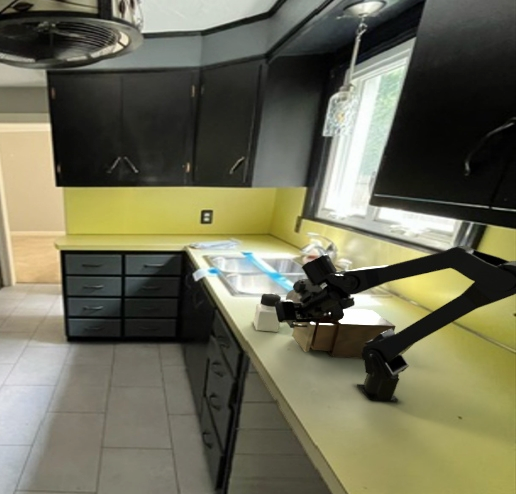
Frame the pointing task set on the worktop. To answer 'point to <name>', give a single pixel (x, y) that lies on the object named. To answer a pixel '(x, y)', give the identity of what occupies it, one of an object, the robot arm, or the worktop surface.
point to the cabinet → (357, 332)
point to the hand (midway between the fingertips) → (292, 321)
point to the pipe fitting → (293, 296)
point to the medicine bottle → (267, 313)
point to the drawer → (315, 334)
